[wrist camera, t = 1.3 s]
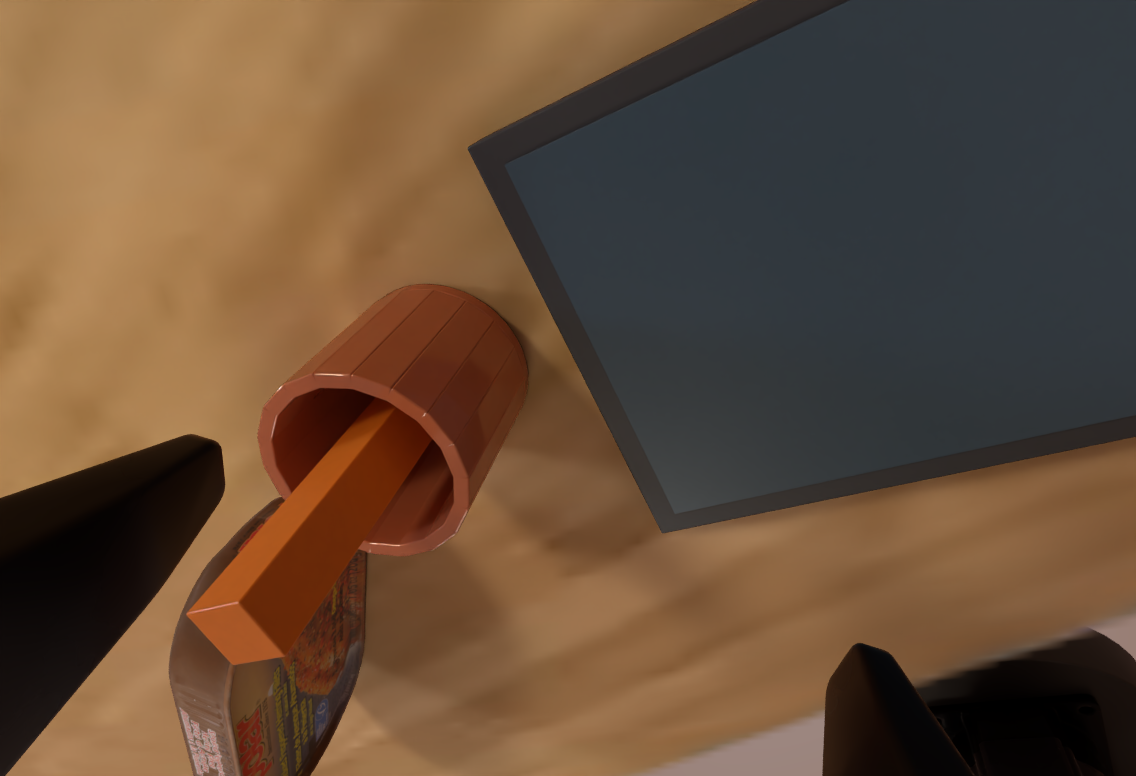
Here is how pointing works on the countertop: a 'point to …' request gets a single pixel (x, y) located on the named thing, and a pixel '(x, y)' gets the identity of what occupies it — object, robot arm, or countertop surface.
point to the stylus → (310, 539)
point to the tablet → (842, 245)
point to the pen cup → (407, 406)
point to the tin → (268, 680)
